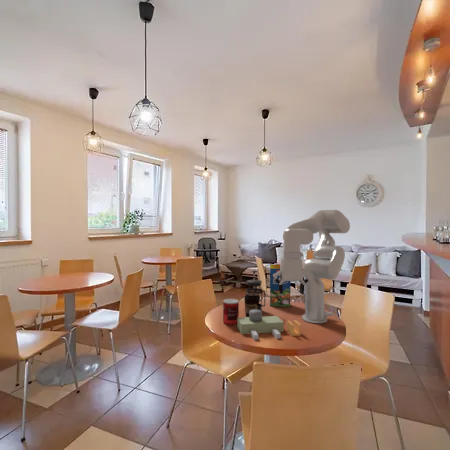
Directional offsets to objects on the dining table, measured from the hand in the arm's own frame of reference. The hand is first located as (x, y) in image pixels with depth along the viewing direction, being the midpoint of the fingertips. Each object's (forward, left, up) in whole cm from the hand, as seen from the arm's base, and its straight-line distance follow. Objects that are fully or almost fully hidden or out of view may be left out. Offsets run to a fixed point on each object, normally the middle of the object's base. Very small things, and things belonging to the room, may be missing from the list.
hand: (291, 293), depth 129 cm
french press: (+8, -34, -18) cm, 39 cm away
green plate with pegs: (+13, -3, -18) cm, 22 cm away
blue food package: (-10, -42, -18) cm, 47 cm away
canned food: (+25, -17, -18) cm, 35 cm away
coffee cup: (+13, -21, -18) cm, 31 cm away
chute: (-1, +1, -18) cm, 18 cm away
